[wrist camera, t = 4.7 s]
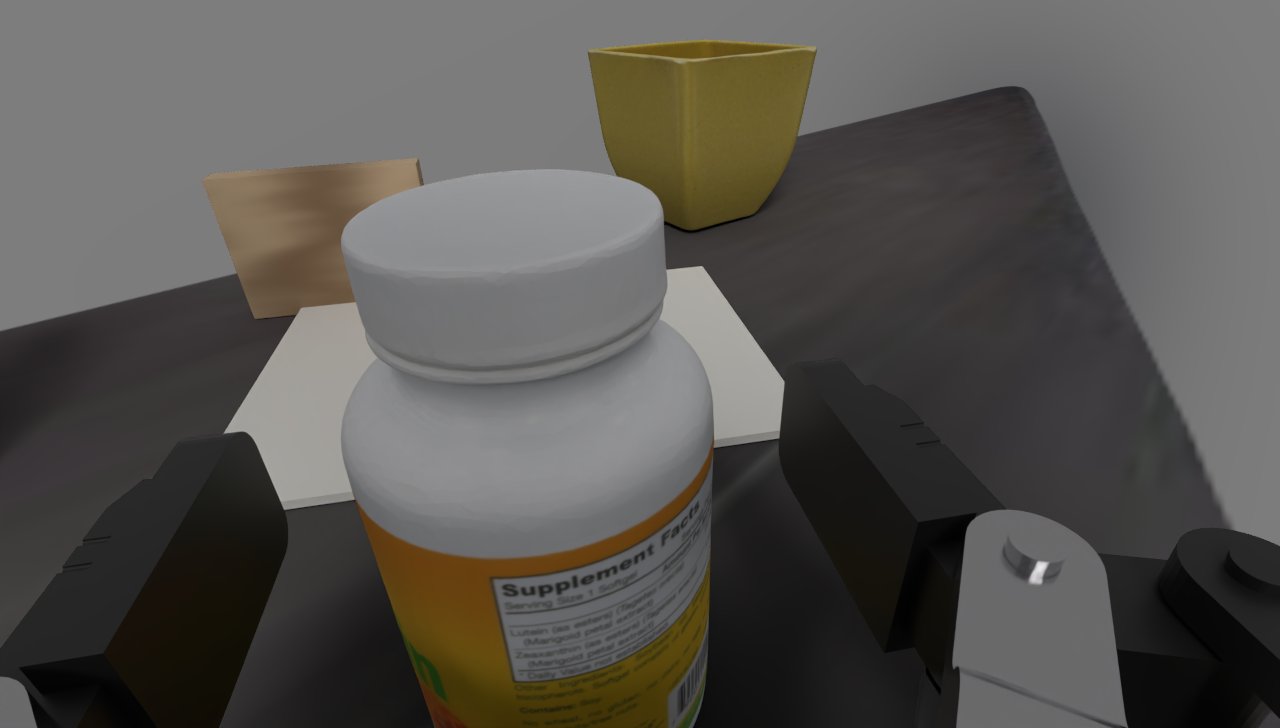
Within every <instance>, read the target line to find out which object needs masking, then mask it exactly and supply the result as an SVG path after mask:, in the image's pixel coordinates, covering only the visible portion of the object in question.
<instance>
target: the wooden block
mask: <svg viewBox="0 0 1280 728" xmlns="http://www.w3.org/2000/svg"><path fill="white" fill-rule="evenodd" d="M202 182H203V185H204V187H205V190H206V193H207V195H208V198H209V201H210V203H211V206H212V208H213V211H214V214H215V216H216V219H217V222H218V224H219V227H220V229H221V232H222V235H223V237H224V240H225V243H226V245H227V248H228V250H229V253H230V256H231V258H232V261H233V264H234V266H235V269H236V271H237V274H238V277H239V279H240V282H241V285H242V287H243V290H244V292H245V295H246V298H247V300H248V303H249V306H250V308H251V311H252V313H253V316H254V319H261V318H271V317H280V316H290V315H297V314H298V312H299V311H300V309H301V308H305V307H314V306H324V305H334V304H343V303H353V302H356V301H355V298H354V294H353V291H352V287H351V284H350V280H349V276H348V272H347V268H346V264H345V260H344V257H343V253H342V249H341V237H342V233H343V230H344V228H345V226H346V225H347V224H348V222H349V221H350V220H351V219H352V218H353V217H355V216H356V215H357V214H358V213H359V212H361V211H363V210H364V209H366V208H368V207H369V206H371V205H372V204H374V203H376V202H378V201H380V200H382V199H384V198H387V197H389V196H392V195H395V194H397V193H400V192H403V191H406V190H410V189H413V188H416V187H420V186H423V185H424V183H423V178H422V173H421V168H420V163H419V159H418V158H413V159H400V160H388V161H387V160H386V161H373V162H360V163H347V164H333V165H320V166H308V167H307V166H306V167H294V168H281V169H266V170H255V171H254V170H253V171H240V172H227V173H213V174H210V175H209V176H207V177H206V178H204V179H203V180H202Z"/></svg>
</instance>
